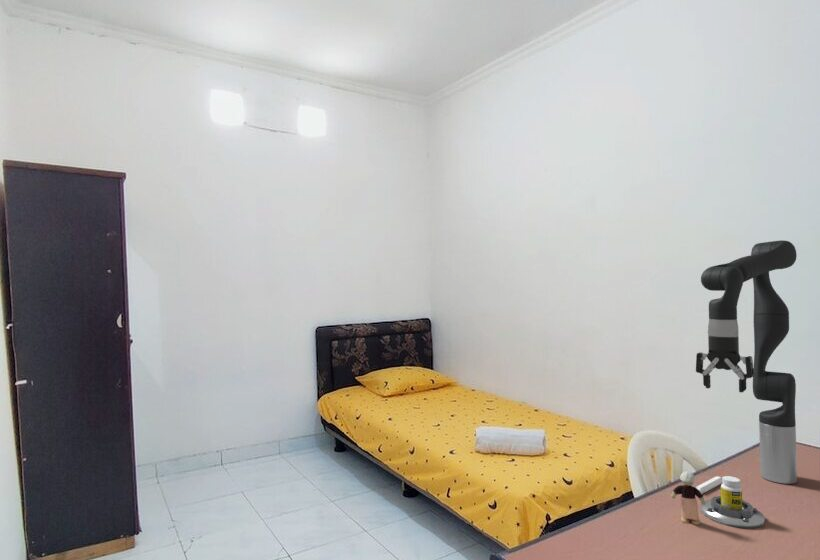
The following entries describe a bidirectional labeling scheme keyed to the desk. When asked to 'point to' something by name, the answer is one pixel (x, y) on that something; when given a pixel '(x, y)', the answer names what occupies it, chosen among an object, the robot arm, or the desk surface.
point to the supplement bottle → (731, 493)
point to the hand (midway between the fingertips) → (724, 390)
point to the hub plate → (732, 521)
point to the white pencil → (709, 484)
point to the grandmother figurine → (688, 498)
